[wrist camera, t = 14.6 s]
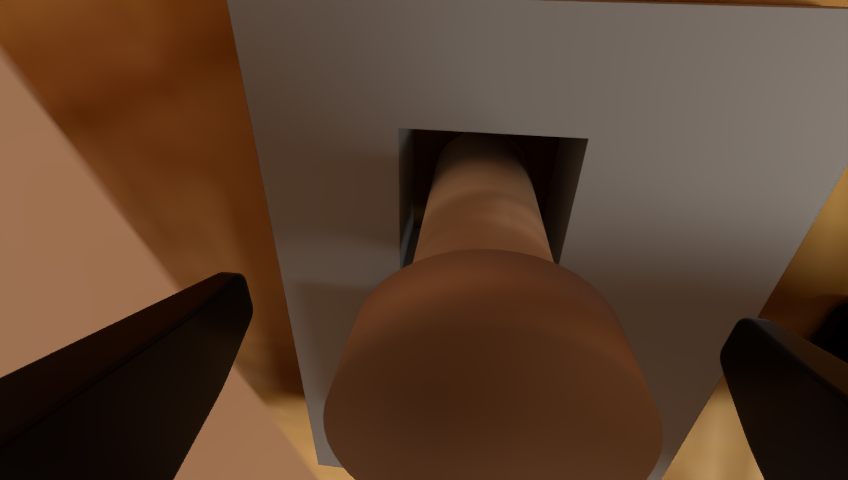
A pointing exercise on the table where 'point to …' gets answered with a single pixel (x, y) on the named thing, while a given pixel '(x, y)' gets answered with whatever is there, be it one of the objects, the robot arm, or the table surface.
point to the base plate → (575, 159)
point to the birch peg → (489, 349)
